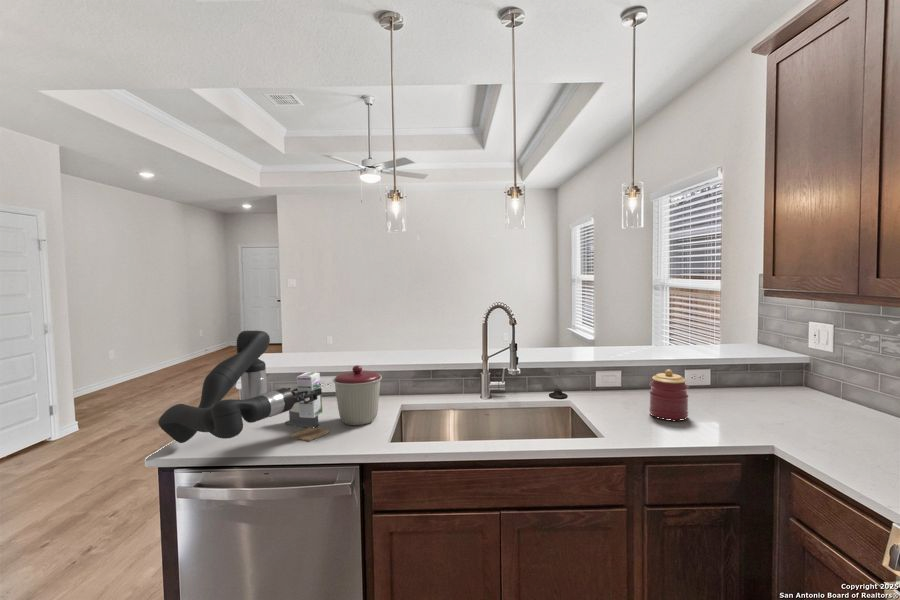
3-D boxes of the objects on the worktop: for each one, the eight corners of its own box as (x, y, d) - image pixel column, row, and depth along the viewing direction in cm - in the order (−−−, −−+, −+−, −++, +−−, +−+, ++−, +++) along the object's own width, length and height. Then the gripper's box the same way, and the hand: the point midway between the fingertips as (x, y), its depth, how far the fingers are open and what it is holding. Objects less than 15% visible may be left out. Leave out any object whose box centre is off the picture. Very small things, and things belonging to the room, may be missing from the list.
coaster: (290, 437, 147) (290, 435, 147) (309, 428, 155) (309, 427, 155) (310, 441, 143) (310, 439, 143) (328, 432, 152) (328, 430, 152)
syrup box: (314, 418, 146) (312, 376, 145) (298, 417, 148) (296, 375, 146) (322, 412, 152) (320, 371, 151) (307, 411, 153) (305, 371, 152)
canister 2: (665, 408, 170) (665, 364, 169) (696, 418, 159) (696, 370, 158) (641, 413, 165) (641, 368, 164) (671, 424, 153) (672, 375, 152)
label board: (285, 424, 161) (284, 397, 160) (291, 421, 164) (290, 395, 163) (311, 428, 155) (310, 401, 155) (318, 425, 158) (317, 398, 158)
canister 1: (327, 429, 154) (325, 371, 153) (341, 413, 172) (340, 361, 171) (378, 429, 153) (376, 370, 152) (387, 413, 171) (385, 360, 170)
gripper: (258, 411, 139) (297, 398, 154) (292, 417, 133) (329, 403, 148) (258, 388, 138) (297, 377, 153) (291, 393, 132) (328, 381, 147)
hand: (312, 390), depth 150 cm, fingers closed on syrup box, 6 cm apart
